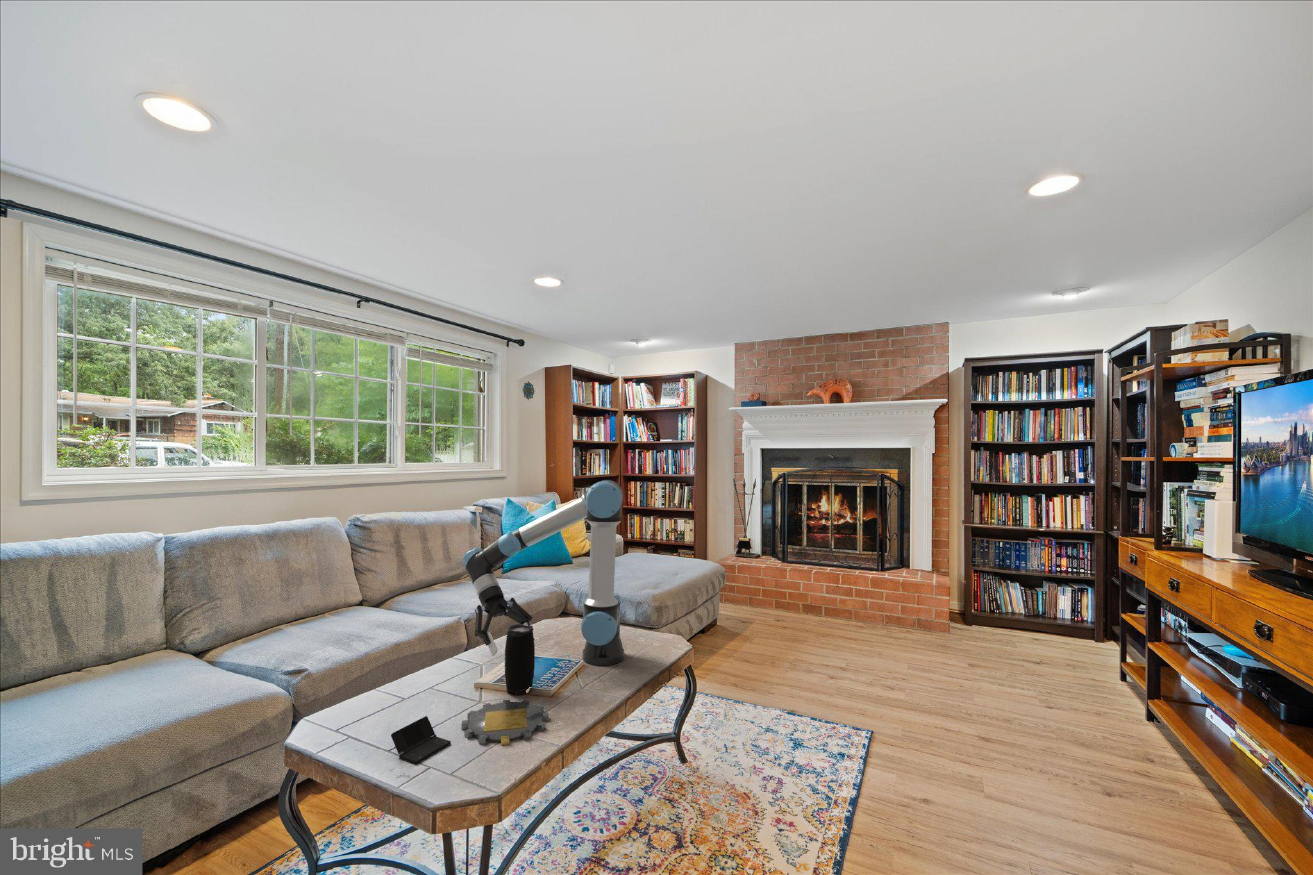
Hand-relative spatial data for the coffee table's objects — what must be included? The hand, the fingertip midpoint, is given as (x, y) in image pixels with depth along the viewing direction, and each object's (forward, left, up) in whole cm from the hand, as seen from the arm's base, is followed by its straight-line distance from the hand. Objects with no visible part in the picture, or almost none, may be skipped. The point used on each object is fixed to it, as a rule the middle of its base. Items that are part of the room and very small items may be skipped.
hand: (514, 647), depth 178 cm
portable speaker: (-1, +2, -13) cm, 13 cm away
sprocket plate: (+14, +17, -13) cm, 26 cm away
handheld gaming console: (+36, +13, -13) cm, 41 cm away
